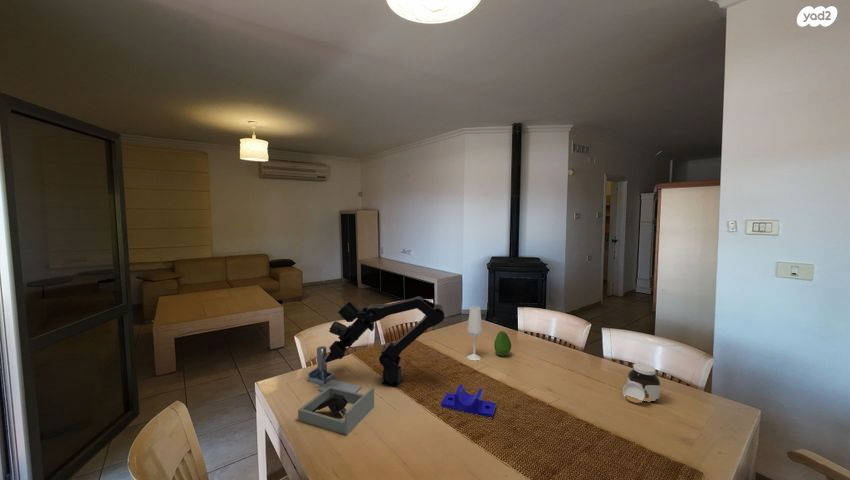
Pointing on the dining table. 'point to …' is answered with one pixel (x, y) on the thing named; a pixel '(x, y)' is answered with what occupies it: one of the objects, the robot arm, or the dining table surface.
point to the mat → (340, 386)
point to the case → (352, 415)
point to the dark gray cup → (322, 362)
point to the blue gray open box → (314, 379)
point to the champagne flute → (474, 329)
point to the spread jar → (642, 382)
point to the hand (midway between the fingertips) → (329, 356)
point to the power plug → (334, 404)
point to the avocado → (502, 344)
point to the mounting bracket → (469, 402)
